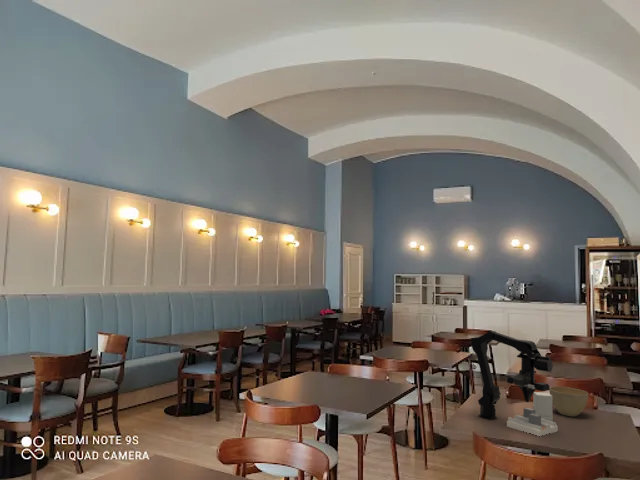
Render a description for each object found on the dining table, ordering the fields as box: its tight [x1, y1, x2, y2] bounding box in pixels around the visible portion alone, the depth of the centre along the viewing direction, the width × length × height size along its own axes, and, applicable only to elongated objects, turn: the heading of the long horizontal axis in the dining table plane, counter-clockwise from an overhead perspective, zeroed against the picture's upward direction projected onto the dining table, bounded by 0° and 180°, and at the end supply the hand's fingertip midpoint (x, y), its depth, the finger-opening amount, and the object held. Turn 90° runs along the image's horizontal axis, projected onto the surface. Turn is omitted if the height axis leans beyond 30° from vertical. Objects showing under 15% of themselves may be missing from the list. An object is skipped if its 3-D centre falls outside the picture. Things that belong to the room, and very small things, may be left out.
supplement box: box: [532, 391, 554, 422], centre depth 235 cm, size 7×7×13 cm
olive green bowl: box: [548, 386, 589, 417], centre depth 247 cm, size 18×18×12 cm
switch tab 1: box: [523, 407, 535, 418], centre depth 225 cm, size 4×3×5 cm
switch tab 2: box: [529, 414, 541, 426], centre depth 215 cm, size 4×3×5 cm
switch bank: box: [506, 413, 559, 437], centre depth 220 cm, size 16×15×4 cm
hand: (527, 401), depth 222 cm, fingers closed
